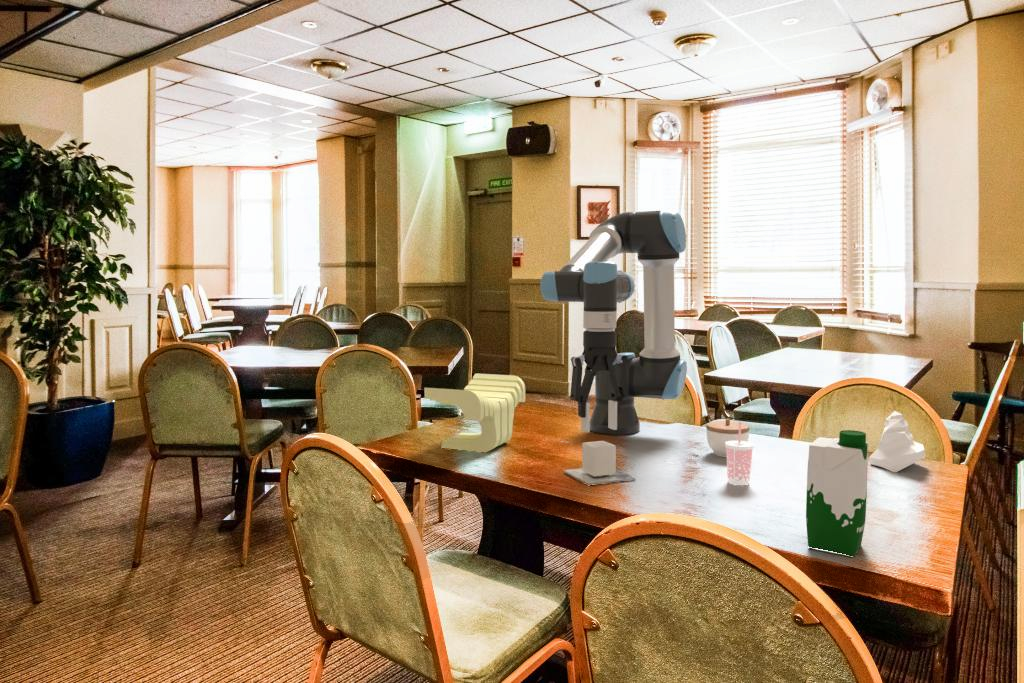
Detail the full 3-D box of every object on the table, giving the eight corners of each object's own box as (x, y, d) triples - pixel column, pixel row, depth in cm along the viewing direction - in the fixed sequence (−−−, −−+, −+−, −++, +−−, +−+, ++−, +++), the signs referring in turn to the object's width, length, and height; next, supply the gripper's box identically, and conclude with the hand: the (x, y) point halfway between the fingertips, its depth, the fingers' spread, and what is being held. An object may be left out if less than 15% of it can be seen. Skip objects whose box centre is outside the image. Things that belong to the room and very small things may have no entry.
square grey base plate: (607, 467, 174) (608, 439, 173) (635, 480, 162) (635, 449, 162) (563, 472, 169) (563, 443, 168) (588, 486, 158) (588, 455, 157)
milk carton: (859, 561, 116) (864, 439, 114) (800, 549, 121) (804, 432, 119) (867, 544, 123) (872, 429, 121) (811, 534, 128) (815, 423, 126)
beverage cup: (757, 482, 160) (759, 421, 159) (745, 488, 156) (747, 425, 155) (731, 477, 164) (732, 417, 163) (719, 483, 160) (720, 421, 159)
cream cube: (603, 468, 169) (603, 440, 169) (615, 473, 164) (615, 445, 164) (582, 470, 167) (582, 442, 167) (594, 476, 162) (594, 447, 161)
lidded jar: (755, 454, 186) (756, 418, 186) (737, 462, 179) (738, 424, 178) (717, 447, 194) (718, 413, 193) (698, 454, 186) (698, 419, 185)
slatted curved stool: (480, 461, 180) (480, 391, 178) (425, 455, 186) (424, 387, 184) (525, 437, 207) (525, 376, 206) (475, 432, 213) (475, 373, 212)
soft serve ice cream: (864, 475, 172) (851, 416, 174) (882, 468, 183) (870, 413, 185) (921, 471, 164) (907, 409, 166) (937, 464, 175) (924, 406, 177)
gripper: (569, 332, 156) (569, 436, 158) (645, 329, 163) (644, 429, 165) (554, 330, 162) (553, 430, 164) (627, 327, 170) (626, 423, 172)
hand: (599, 429), depth 165 cm, fingers open, 6 cm apart
